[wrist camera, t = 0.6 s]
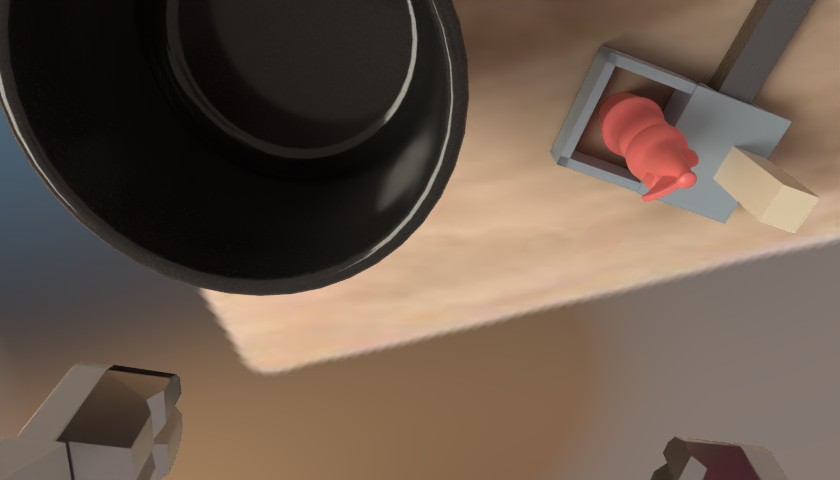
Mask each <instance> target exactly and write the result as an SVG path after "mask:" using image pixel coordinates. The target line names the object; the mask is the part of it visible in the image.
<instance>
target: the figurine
mask: <svg viewBox="0 0 840 480" xmlns="http://www.w3.org/2000/svg"><path fill="white" fill-rule="evenodd" d="M598 119H599V124H600V127H601V128H602V137H603V140H604V143H605V144H606V146H607V147H608V148H609V149H610V150H611V151H612V152H614V153H615V154H618V155H620V156H623V157H624V158H626V163H627V166H628V168H629V170H630V171H631V173H632V174H633V175H634V176H635V177H637V178H638V179H640V180H642V181H643V184H644V185H645V186H646V187H647V188H649V189H650V191H649V192H647V193H646V194H644V195H643V196H642V199H643V200H644V201H645V202H646V201H651V200H655V199H658V198H661V197H663V196H665V195H667V194H669V193H671V192H673V191H675V190H677V189H679V188H685V189H686V188H690V187H692V186H694V185H695V184H696V182H697V176H696V174H695V173H694V172H692V171H691V168H692V167H695V166H696V165H697V164H698V162H699V158H698V155H697V154H696V152H695V151H694V150H692V149H689V147H688V143H687V140H686V138H685V136H684V135H683V134H682V132H681V131H679V130H678V129H677V128H675V127H674V126H671V125H668V123H667V122H666V121H665V120H664V115H663V112H662V110H661V108H660V107H659V106H658V105H657V104H656V103H655V102H654V101H652V100H650V99H647V98H644V97H638V96H636V95H634V94H632V93H628V92H621V93H617V94H614V95H612V96H611V97H609V98H608V99H607V100H606V101H605V102H604V103H603V105H602V106H601V108H600V111H599V116H598Z"/></svg>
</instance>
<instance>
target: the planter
mask: <svg viewBox="0 0 840 480" xmlns="http://www.w3.org/2000/svg"><path fill="white" fill-rule="evenodd" d="M468 101H469V86H468V61H467V55H466V50H465V45H464V40H463V35H462V30H461V25H460V20H459V17H458V15H457V12H456V9H455V6H454V4H453V1H452V0H0V105H1V107H2V109H3V112H4V114H5V117H6V119H7V122H8V124H9V126H10V129H11V131H12V134H13V135H14V137H15V139H16V140H17V142H18V144H19V146H20V147H21V149H22V151H23V153H24V154H25V156H26V158H27V160H28V161H29V163H30V165H31V166H32V167H33V169H34V170H35V171H36V173H37V174H38V175H39V177H40V178H41V180H42V181H43V182H44V183H45V185H46V186H47V187H48V189H49V190H50V191H51V193H52V194H53V195H54V196H55V197H56V198H57V199H58V200H59V201H60V202H61V204H63V206H64V207H65V208H66V209H67V210H68V211H69V212H70V213H71V214H72V215H73V216H74V217H75V218H76V219H77V220H78V221H79V222H80V223H82V224H83V225H84V226H85V227H87V228H88V229H89V230H90V231H92V232H93V233H94V234H95V235H96V236H98V237H99V238H100V239H101V240H102V241H104V242H105V243H106V244H108V245H110V246H111V247H113V248H114V249H116V250H117V251H119V252H120V253H122V254H124V255H125V256H127V257H128V258H130V259H132V260H133V261H135V262H137V263H139V264H141V265H143V266H145V267H147V268H149V269H151V270H153V271H156V272H158V273H160V274H162V275H164V276H166V277H169V278H172V279H175V280H178V281H181V282H184V283H187V284H190V285H193V286H196V287H200V288H205V289H210V290H214V291H219V292H224V293H230V294H243V295H257V296H265V295H283V294H294V293H299V292H304V291H309V290H314V289H319V288H323V287H326V286H328V285H331V284H334V283H337V282H340V281H343V280H345V279H348V278H351V277H353V276H354V275H356V274H358V273H360V272H362V271H364V270H366V269H368V268H370V267H371V266H373V265H375V264H377V263H378V262H380V261H381V260H382V259H384V258H385V257H386V256H388V255H389V254H390V253H392V252H393V251H394V250H396V249H397V248H398V247H400V246H401V245H402V244H403V243H404V242H405V241H406V240H407V239H408V238H409V237H410V236H411V235H412V234H413V233H414V232H415V231H416V230H417V229H418V228H419V227H420V226H421V224H422V223H423V222H424V221H425V219H426V218H427V216H428V215H429V214H430V212H431V211H432V209H433V208H434V206H435V205H436V203H437V202H438V201H439V199H440V198H441V196H442V194H443V192H444V190H445V187H446V185H447V183H448V181H449V179H450V177H451V175H452V173H453V171H454V168H455V166H456V162H457V159H458V155H459V152H460V148H461V145H462V141H463V138H464V134H465V127H466V118H467V110H468Z"/></svg>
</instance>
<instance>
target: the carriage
mask: <svg viewBox="0 0 840 480" xmlns="http://www.w3.org/2000/svg"><path fill="white" fill-rule="evenodd" d="M615 66H617V67H620V68H623V69H625V70H628V71H631V72H633V73H636V74H638V75H641V76H644V77H646V78H649V79H652V80H654V81H657V82H660V83H662V84H665V85H668V86H670V87H673V88H675V90H674V92H673V94H672V96H671V98H670V100H669V101H668V103H667V105H666V107H665V109H664V110H663V115H664V120H665V121H666V122H667V123H668V125H671V126H674V127H675V128H677V129H678V130H679V131H681V132H682V134H683V135H684V136H685V138H686V140H687V143H688V147H689V149H692V150H694V151H695V152H696V154H697V155H698V158H699V162H698V164H697V165H696V166H695V167H692V168H691V171H692V172H694V173H695V174H696V176H697V182H696V184H695V185H694V186H692V187H690V188H686V189H685V188H679V189H677V190H675V191H673V192H671V193H669V194H667V195H665V196H663V197H661V198H658V199H656V200H659V201H662V202H664V203H667V204H670V205H673V206H676V207H679V208H682V209H685V210H687V211H690V212H693V213H696V214H699V215H702V216H705V217H708V218H711V219H713V220H716V221H719V222H722V223H726V221H727V220H728V218H729V217H730V215H731V214H732V212H733V211H734V209H735V208H736V206H737V205H738V203H740V204H741V205H742V206H743V207H744V208H745V209H746V210H747V211H748V212H749V213H750V214H751V215H753V216H754V217H755V218H756V219H757V220H758V221H759V222H762V223H765V224H768V225H771V226H774V227H777V228H779V229H782V230H785V231H788V232H791V233H795V232H796V231H797V229H798V228H799V227H800V225H801V224H802V222H803V221H804V220H805V218H806V217H807V216H808V214H809V213H810V212H811V210H812V209H813V207H814V206H815V205H816V203H817V202H818V201H819V199H820V197H818V196H817V195H815V194H814V193H813V192H811V191H810V190H809V189H807V188H806V187H805V186H803V185H802V184H800V183H799V182H798V181H796V180H795V179H794V178H792V177H791V176H789V175H788V174H787V173H785V172H784V171H783V170H781V169H780V168H779V167H777V166H776V165H774V164H773V163H772V162H770V161H769V160H768V158H769V156H770V155H771V153H772V152H773V150H774V149H775V147H776V146H777V144H778V142H779V141H780V139H781V138H782V136H783V135H784V133H785V132H786V130H787V129H788V127H789V126H790V124H791V123H792V121H790V120H788V119H787V118H785V117H783V116H780V115H777V114H775V113H772V112H770V111H767V110H765V109H763V108H761V107H760V106H758V105H756V104H755V103H751V104H749V103H746V102H743V101H741V100H738V99H736V98H733V97H730V96H728V95H725V94H722V93H720V92H717V91H715V90H713V89H712V88H710V87H709V86H707V85H705V84H703V83H700V82H695V81H694V80H692V79H690V78H687V77H685V76H682V75H679V74H677V73H674V72H672V71H669V70H666V69H664V68H661V67H659V66H656V65H653V64H651V63H648V62H645V61H643V60H640V59H638V58H635V57H632V56H630V55H627V54H625V53H622V52H619V51H617V50H614V49H611V48H609V47H606V46H604V45H601V47H600V49H599V51H598V53H597V55H596V57H595V59H594V61H593V63H592V66H591V68H590V70H589V72H588V74H587V76H586V78H585V80H584V82H583V84H582V86H581V89H580V91H579V93H578V95H577V97H576V99H575V101H574V103H573V105H572V107H571V109H570V112H569V114H568V116H567V118H566V120H565V122H564V124H563V126H562V128H561V130H560V132H559V135H558V137H557V139H556V141H555V143H554V145H553V147H552V149H551V151H550V152H551V154H552V156H553V158H554V160H555V162H556V164H558V165H561V166H564V167H567V168H570V169H572V170H575V171H578V172H581V173H584V174H587V175H590V176H593V177H595V178H598V179H601V180H604V181H607V182H610V183H613V184H616V185H619V186H621V187H624V188H627V189H630V190H633V191H636V192H637V193H638V194H641V195H644V194H646V193H647V192H649V191H650V189H649V188H647V187H646V186H645V185H644V184H643V181H642V180H640V179H638V178H637V177H635V176H634V175H633V174H632V173H631V171H630V170H629V169H626V168H623V167H620V166H617V165H614V164H612V163H609V162H606V161H603V160H600V159H597V158H595V157H592V156H589V155H586V154H583V153H580V152H578V151H575V150H574V149H575V147H576V145H577V143H578V141H579V139H580V137H581V135H582V133H583V131H584V129H585V127H586V125H587V123H588V121H589V119H590V116H591V114H592V112H593V110H594V108H595V106H596V104H597V102H598V100H599V98H600V96H601V94H602V92H603V90H604V88H605V86H606V84H607V82H608V80H609V78H610V76H611V74H612V72H613V70H614V68H615Z"/></svg>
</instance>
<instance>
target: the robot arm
mask: <svg viewBox="0 0 840 480" xmlns="http://www.w3.org/2000/svg"><path fill="white" fill-rule="evenodd" d="M180 394H181V385H180V377H179V376H177V375H176V374H171V373H163V372H157V371H151V370H144V369H137V368H131V367H124V366H117V365H113V366H111V365H105V364H99V363H92V362H86V361H81V362H79V363H77V364H75V365H74V366H72V367H71V369H70V370H69V371H68V372H67V374H66V375H65V376H64V377H63V379H62V380H61V381H60V382H59V384H58V385H57V386H56V387H55V389H54V390H53V391H52V392H51V394H50V395H49V396H48V397H47V399H46V400H45V401H44V402H43V404H42V405H41V406H40V407H39V409H38V410H37V411H36V412H35V414H34V415H33V416H32V417H31V419H30V420H29V421H28V422H27V424H26V425H25V426H24V427H23V429H22V430H21V431H20V432H19V434H18V435H17V436H16V437H11V436H4V437H2V438H1V439H0V480H160V479H162V478H163V477H165V476H166V475H167V474H169V472H170V470H171V468H172V465H173V463H174V461H175V459H176V455H177V452H178V448H179V445H180V441H181V434H182V414H181V412H180V411H179V410H178V409H177V408H176V407H175V404H176V403H177V401H178V398H179V397H180ZM663 454H664V456H665V459H666V461H667V464H665V465H664V466H662V467H660V468H659V469H657V470H656V471H654V473H653V475H652V477H651V480H789V479H788V478H787V476H786V474H785V473H784V471H783V470H782V468H781V467H780V465H779V463H778V462H777V460H776V459H775V457H774V456H773V454H772V453H771V452H770V451H769V450H768V449H766V448H765V447H763V446H756V445H747V444H738V443H733V444H731V443H726V442H718V441H709V440H701V439H692V438H683V437H674V438H673V439H671V440H670V441H669V442H668V443H667V445H666V448H665V449H664V452H663Z"/></svg>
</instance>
